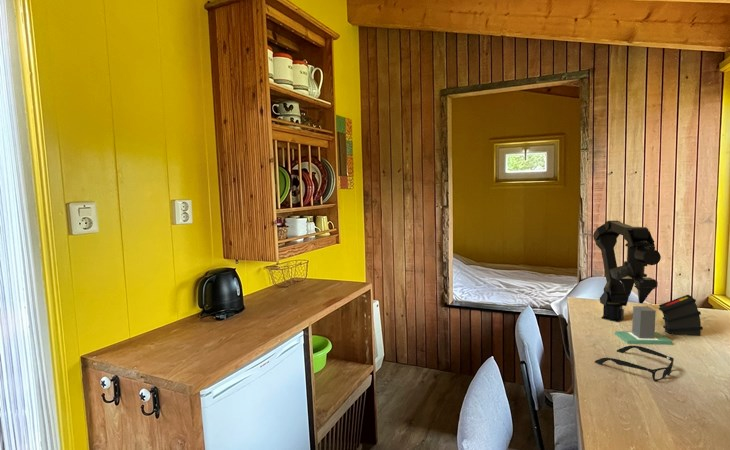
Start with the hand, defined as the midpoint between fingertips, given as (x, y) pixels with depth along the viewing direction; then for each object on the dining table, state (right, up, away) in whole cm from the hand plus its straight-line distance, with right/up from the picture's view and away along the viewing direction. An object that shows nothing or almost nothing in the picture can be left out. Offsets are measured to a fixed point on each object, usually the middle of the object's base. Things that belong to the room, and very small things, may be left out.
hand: (634, 299), depth 153 cm
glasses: (-17, -17, -26) cm, 36 cm away
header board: (0, -14, -5) cm, 15 cm away
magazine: (+16, -13, -1) cm, 21 cm away
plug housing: (0, -12, -6) cm, 14 cm away
